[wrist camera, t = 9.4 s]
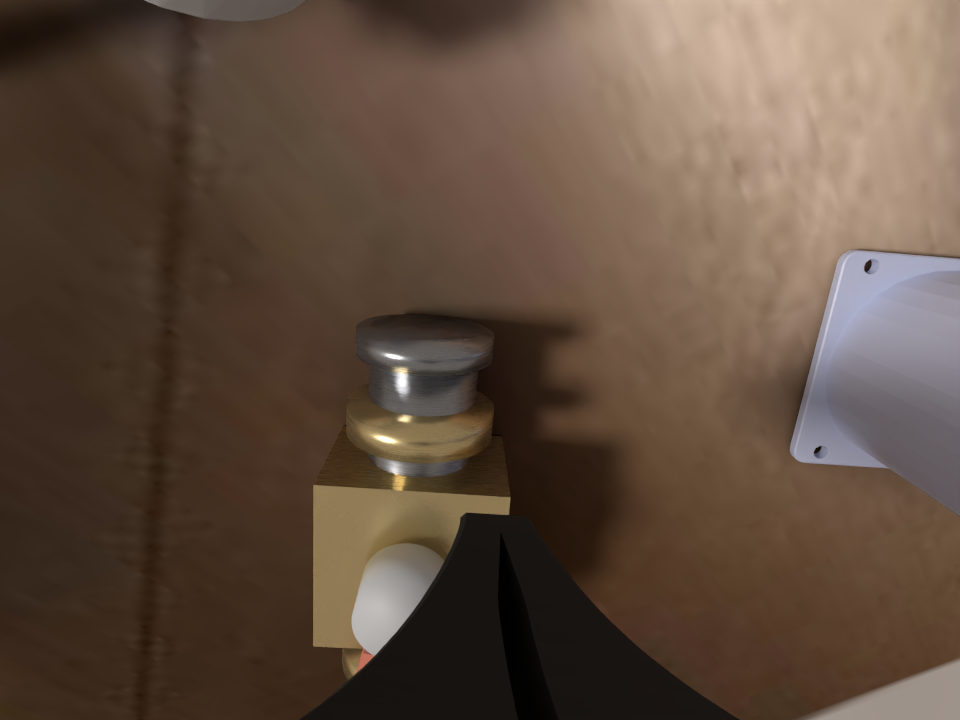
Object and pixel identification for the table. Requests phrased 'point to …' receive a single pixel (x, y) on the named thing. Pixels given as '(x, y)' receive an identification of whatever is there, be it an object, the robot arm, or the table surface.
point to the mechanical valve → (230, 8)
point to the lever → (391, 593)
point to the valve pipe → (403, 460)
